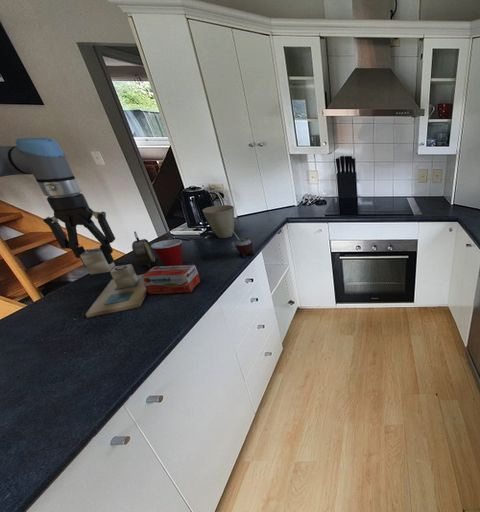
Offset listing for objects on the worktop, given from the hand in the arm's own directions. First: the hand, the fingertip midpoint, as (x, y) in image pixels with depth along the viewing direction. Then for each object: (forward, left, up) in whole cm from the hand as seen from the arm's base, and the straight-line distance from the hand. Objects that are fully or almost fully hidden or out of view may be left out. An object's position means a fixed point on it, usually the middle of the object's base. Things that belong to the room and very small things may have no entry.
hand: (100, 263), depth 91 cm
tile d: (0, 0, -2) cm, 2 cm away
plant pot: (+32, +54, -16) cm, 65 cm away
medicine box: (+16, +2, -16) cm, 23 cm away
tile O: (+1, +10, -14) cm, 17 cm away
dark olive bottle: (+2, +29, -16) cm, 33 cm away
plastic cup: (+13, +22, -16) cm, 30 cm away
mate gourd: (+42, +23, -16) cm, 50 cm away
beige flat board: (0, +5, -15) cm, 16 cm away
